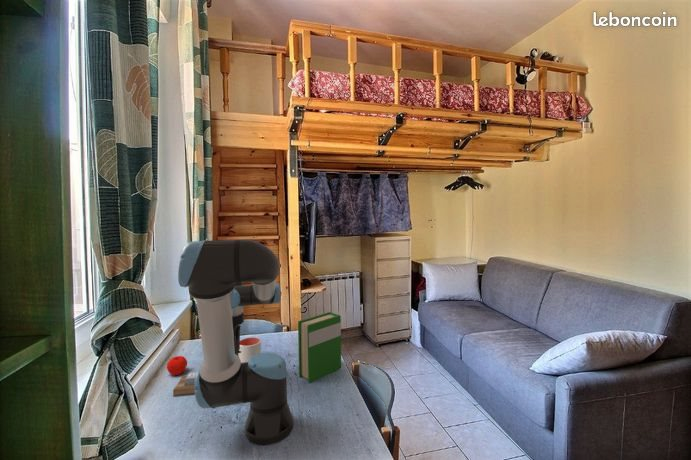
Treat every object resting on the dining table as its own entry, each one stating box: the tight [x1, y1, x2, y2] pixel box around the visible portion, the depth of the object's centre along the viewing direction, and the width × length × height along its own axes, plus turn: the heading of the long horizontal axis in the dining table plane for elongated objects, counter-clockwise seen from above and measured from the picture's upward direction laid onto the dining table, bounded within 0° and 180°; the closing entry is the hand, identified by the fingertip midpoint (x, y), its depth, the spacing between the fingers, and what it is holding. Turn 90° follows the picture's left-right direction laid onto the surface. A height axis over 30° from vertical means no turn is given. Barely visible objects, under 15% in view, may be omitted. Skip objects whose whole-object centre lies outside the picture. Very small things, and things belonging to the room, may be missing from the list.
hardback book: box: [297, 311, 342, 384], centre depth 136 cm, size 18×7×24 cm, turn 133°
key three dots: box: [185, 371, 197, 386], centre depth 125 cm, size 5×5×4 cm
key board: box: [172, 374, 195, 397], centre depth 127 cm, size 11×28×2 cm, turn 99°
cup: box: [238, 337, 262, 363], centre depth 146 cm, size 10×10×10 cm
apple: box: [166, 355, 188, 376], centre depth 137 cm, size 8×8×7 cm
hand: (235, 370), depth 128 cm, fingers closed
